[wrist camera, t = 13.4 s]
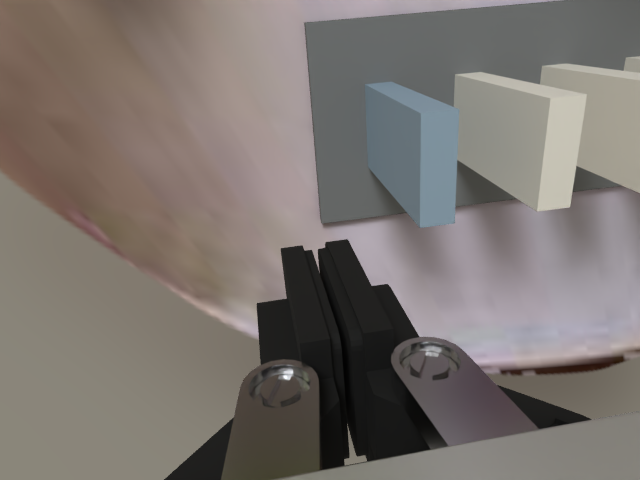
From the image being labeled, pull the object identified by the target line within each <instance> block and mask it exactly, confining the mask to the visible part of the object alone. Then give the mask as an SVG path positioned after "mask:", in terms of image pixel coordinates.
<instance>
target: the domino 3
mask: <svg viewBox="0 0 640 480" xmlns="http://www.w3.org/2000/svg"><path fill="white" fill-rule="evenodd" d="M624 71H629V72H637V73H640V56H637V57H627V58H626V60H625V65H624Z"/></svg>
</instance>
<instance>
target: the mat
mask: <svg viewBox="0 0 640 480" xmlns="http://www.w3.org/2000/svg"><path fill="white" fill-rule="evenodd" d="M305 35H306V48H307V60H308V72H309V84H310V96H311V108H312V121H313V133H314V145H315V157H316V169H317V181H318V194H319V206H320V218H321V223H330V222H338V221H346V220H354V219H362V218H370V217H377V216H385V215H393V214H401V213H407V212H406V211H405V210H404V209H403V207H402V206H401V205H400V204H399V203H398V202H397V200H396V199H395V198H394V197H393V196H392V194H391V193H390V192H389V191H388V190H387V189H386V187H385V186H384V185H383V184H382V183H381V182H380V180H379V179H378V178H377V177H376V176H375V174H374V173H373V172H372V171H371V170H370V169H369V167H368V152H367V126H366V99H365V84H373V83H383V82H394V83H396V84H398V85H401V86H403V87H406V88H408V89H411V90H413V91H416V92H418V93H421V94H423V95H425V96H428V97H430V98H433V99H435V100H438V101H440V102H443V103H445V104H448V105H450V106H452V107H454V88H455V74H465V73H475V72H483V73H488V74H493V75H497V76H502V77H507V78H512V79H516V80H521V81H526V82H530V83H535V84H540V79H541V70H542V66H546V65H556V64H566V63H567V64H575V65H582V66H590V67H598V68H606V69H613V70H621V71H624V65H625V60H626V58H627V57H637V56H640V0H564V1H553V2H541V3H529V4H518V5H506V6H494V7H483V8H471V9H459V10H447V11H436V12H424V13H412V14H401V15H389V16H377V17H366V18H354V19H342V20H331V21H319V22H307V23H305ZM615 186H622V185H620V184H617V183H615V182H613V181H610V180H608V179H606V178H603V177H601V176H599V175H596V174H594V173H592V172H590V171H587V170H585V169H583V168H580V167H578V166H576V171H575V178H574V184H573V191H572V192H576V191H584V190H592V189H600V188H608V187H615ZM512 199H517V198H515V197H514V196H512V195H511V194H509V193H507V192H506V191H504V190H503V189H501V188H500V187H498V186H497V185H495V184H494V183H492V182H491V181H489V180H487V179H486V178H484V177H483V176H481V175H480V174H478V173H477V172H475V171H474V170H472V169H471V168H469V167H467V166H466V165H464V164H463V163H461V162H460V161H458V160H457V178H456V202H455V207H457V206H465V205H473V204H481V203H489V202H496V201H504V200H512Z"/></svg>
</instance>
